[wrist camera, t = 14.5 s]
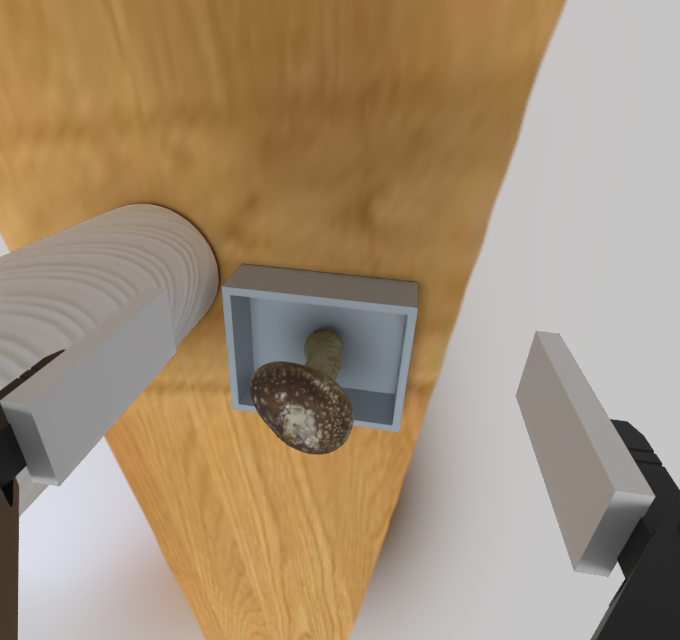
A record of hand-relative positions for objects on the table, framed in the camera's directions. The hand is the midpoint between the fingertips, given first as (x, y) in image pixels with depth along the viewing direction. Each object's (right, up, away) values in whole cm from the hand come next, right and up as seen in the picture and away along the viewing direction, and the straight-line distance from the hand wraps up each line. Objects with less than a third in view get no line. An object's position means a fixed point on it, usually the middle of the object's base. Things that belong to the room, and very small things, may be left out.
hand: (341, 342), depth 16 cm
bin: (-2, -1, +34) cm, 34 cm away
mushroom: (-1, -1, +33) cm, 33 cm away
